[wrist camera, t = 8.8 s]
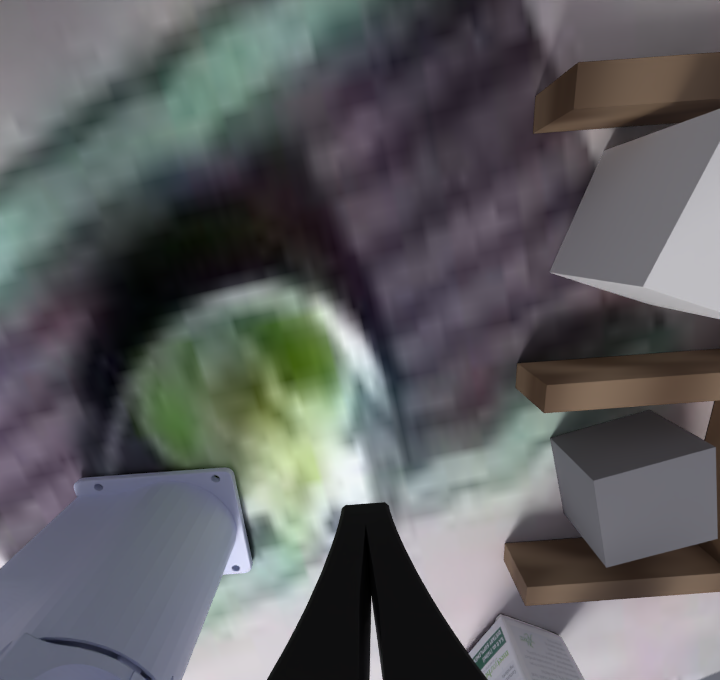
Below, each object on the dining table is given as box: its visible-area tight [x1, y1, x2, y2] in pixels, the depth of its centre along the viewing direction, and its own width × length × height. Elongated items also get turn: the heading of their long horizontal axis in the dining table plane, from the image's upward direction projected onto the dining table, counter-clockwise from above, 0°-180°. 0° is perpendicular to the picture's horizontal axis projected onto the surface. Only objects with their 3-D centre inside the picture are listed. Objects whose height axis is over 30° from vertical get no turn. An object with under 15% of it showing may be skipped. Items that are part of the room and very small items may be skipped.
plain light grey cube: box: [550, 109, 720, 319], centre depth 14 cm, size 6×6×6 cm
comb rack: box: [504, 52, 720, 606], centre depth 17 cm, size 14×28×4 cm, turn 4°
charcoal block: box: [550, 410, 718, 568], centre depth 19 cm, size 6×6×4 cm
